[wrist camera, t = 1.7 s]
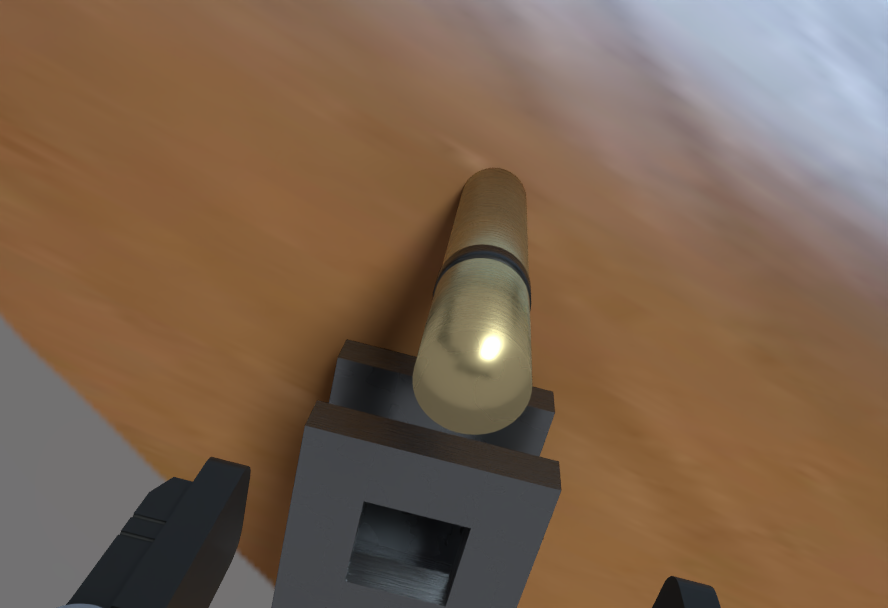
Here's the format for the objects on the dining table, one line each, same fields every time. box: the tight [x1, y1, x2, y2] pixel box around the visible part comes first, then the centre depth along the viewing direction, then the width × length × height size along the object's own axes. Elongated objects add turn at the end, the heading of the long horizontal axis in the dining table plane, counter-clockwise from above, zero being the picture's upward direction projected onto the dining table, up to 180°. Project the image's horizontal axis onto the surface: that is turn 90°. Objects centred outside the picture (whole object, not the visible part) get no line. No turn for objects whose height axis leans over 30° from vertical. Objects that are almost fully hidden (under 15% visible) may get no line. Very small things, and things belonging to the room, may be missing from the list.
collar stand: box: [271, 339, 561, 608], centre depth 37 cm, size 12×11×10 cm
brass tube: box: [412, 168, 532, 435], centre depth 28 cm, size 3×3×18 cm
